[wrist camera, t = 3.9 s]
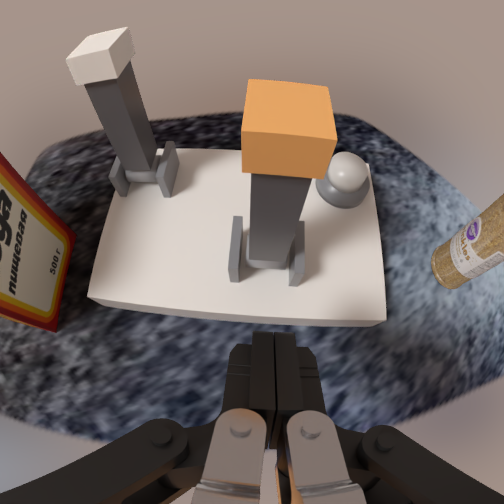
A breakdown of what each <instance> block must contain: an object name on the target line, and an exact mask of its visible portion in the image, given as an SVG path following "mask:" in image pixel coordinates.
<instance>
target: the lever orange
mask: <svg viewBox="0 0 504 504" xmlns="http://www.w3.org/2000/svg"><path fill="white" fill-rule="evenodd" d="M336 143H337V135H336V129H335V123H334V117H333V111H332V106H331V101H330V96H329V91H328V87H324V86H317V85H311V84H302V83H294V82H284V81H272V80H257V79H249V80H248V87H247V94H246V102H245V108H244V115H243V122H242V130H241V148H242V173H251V194H250V231H249V234H248V236H247V247H246V265H245V267H251V268H265V269H280V270H286V266H287V260H288V252H289V249H290V246H291V243H292V240H293V237H294V234H295V231H296V228H297V225H298V222H299V219H300V216H301V213H302V210H303V206H304V203H305V200H306V197H307V194H308V191H309V188H310V184H311V181H312V178H314V179H324V176H325V174H326V171H327V168H328V165H329V162H330V160H331V157H332V154H333V151H334V148H335V145H336Z"/></svg>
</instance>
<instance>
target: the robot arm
mask: <svg viewBox="0 0 504 504" xmlns="http://www.w3.org/2000/svg"><path fill="white" fill-rule="evenodd" d="M317 368H318V367H317V362H316V357H315V356H314V354H313V353H312V352H311V350H310V349H309V348H308V347H296V340H295V334H294V333H283V332H274V335H273V332H263V331H253V335H252V345H249V344H237V345H236V346H235V347H234V348H233V350H232V351H231V352H230V356H229V363H228V370H227V377H226V384H225V391H224V399H223V406H222V410H221V412H220V414H219V416H218V417H217V418H216V419H215V420H213V421H212V422H210V423H208V424H206V425H202V426H197V427H189V428H183V427H182V426H181V425H180V424H179V423H177V422H175V421H173V420H170V419H163V418H160V419H153V420H150V421H148V422H146V423H144V424H143V425H141V426H139V427H138V428H136V429H134V430H132V431H131V432H129V433H127V434H125V435H124V436H122V437H120V438H118V439H116V440H115V441H113V442H111V443H109V444H107V445H105V446H104V447H102V448H100V449H98V450H96V451H94V452H92V453H90V454H88V455H86V456H84V457H82V458H81V459H78V460H76V461H74V462H72V463H70V464H68V465H66V466H64V467H62V468H60V469H58V470H56V471H54V472H51V473H49V474H47V475H45V476H42V477H40V478H38V479H36V480H33V481H31V482H28V483H26V484H23V485H21V486H19V487H16V488H14V489H11V490H8V491H6V492H3V493H0V504H169V503H171V502H172V501H174V500H175V499H177V498H178V497H180V496H181V495H182V494H184V493H185V492H187V491H188V490H190V489H191V488H192V487H196V488H195V491H194V494H193V497H192V501H191V504H259V500H260V483H261V474H262V465H263V457H264V452H265V449H267V448H268V443H269V449H277V462H276V465H275V475H276V484H277V493H278V503H279V504H504V496H503V495H501V494H500V493H498V492H496V491H494V490H492V489H490V488H489V487H487V486H485V485H484V484H482V483H480V482H479V481H477V480H475V479H473V478H472V477H470V476H468V475H467V474H465V473H463V472H462V471H460V470H459V469H457V468H455V467H454V466H452V465H451V464H449V463H447V462H446V461H444V460H443V459H441V458H439V457H438V456H436V455H435V454H433V453H432V452H430V451H429V450H427V449H426V448H424V447H423V446H421V445H419V444H418V443H416V442H415V441H413V440H412V439H410V438H409V437H407V436H406V435H404V434H403V433H402V432H400V431H399V430H397V429H396V428H394V427H391V426H387V425H378V426H375V427H372V428H370V429H369V430H368V431H367V432H366V433H361V432H356V431H351V430H346V429H343V428H341V427H339V426H337V425H335V424H334V423H333V421H332V420H331V419H330V418H329V417H328V416H327V414H326V410H325V404H324V399H323V393H322V388H321V383H320V379H319V372H318V370H317Z"/></svg>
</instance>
